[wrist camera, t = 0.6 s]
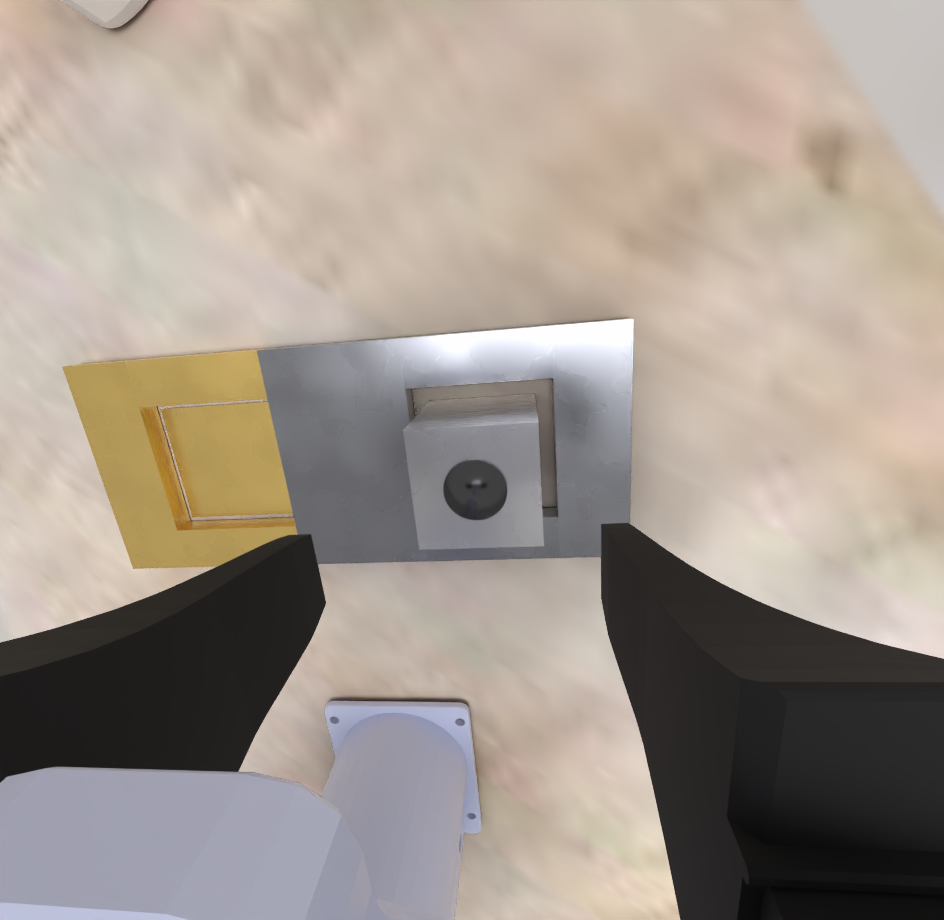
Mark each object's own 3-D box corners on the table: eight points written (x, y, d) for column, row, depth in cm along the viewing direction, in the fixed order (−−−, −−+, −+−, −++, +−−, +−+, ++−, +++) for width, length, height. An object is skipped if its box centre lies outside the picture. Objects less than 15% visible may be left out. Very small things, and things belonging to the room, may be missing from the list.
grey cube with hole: (539, 491, 22) (543, 548, 17) (441, 496, 22) (418, 551, 17) (535, 393, 20) (538, 423, 15) (430, 400, 21) (402, 431, 16)
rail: (624, 544, 22) (629, 555, 21) (148, 558, 25) (133, 568, 24) (627, 317, 19) (633, 318, 18) (82, 363, 22) (62, 366, 21)
